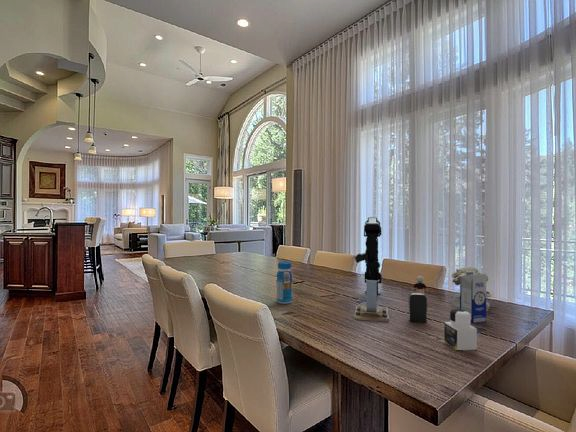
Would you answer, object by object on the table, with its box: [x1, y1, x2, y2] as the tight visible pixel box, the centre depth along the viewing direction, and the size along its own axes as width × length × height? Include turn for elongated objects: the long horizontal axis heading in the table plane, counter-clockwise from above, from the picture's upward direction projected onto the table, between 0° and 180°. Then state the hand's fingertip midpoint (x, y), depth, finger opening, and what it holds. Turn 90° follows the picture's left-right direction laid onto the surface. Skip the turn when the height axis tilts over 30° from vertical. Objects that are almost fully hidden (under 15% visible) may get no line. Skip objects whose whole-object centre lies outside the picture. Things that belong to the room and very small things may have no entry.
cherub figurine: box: [449, 265, 493, 312], centre depth 153 cm, size 18×18×18 cm
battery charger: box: [408, 292, 428, 323], centre depth 130 cm, size 7×4×11 cm, turn 79°
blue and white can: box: [275, 260, 294, 305], centre depth 159 cm, size 8×8×20 cm
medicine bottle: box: [443, 308, 478, 351], centre depth 106 cm, size 7×7×12 cm
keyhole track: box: [353, 304, 390, 323], centre depth 138 cm, size 16×14×3 cm
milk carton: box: [459, 272, 487, 324], centre depth 131 cm, size 7×7×20 cm
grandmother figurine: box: [411, 275, 429, 296], centre depth 160 cm, size 8×4×13 cm, turn 84°
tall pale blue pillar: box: [365, 279, 378, 312], centre depth 140 cm, size 5×4×13 cm
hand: (372, 279), depth 155 cm, fingers closed
